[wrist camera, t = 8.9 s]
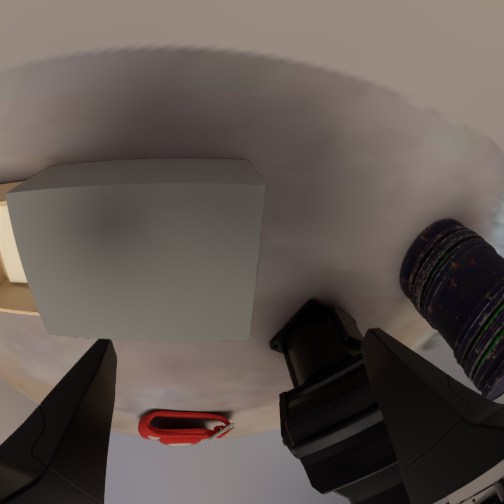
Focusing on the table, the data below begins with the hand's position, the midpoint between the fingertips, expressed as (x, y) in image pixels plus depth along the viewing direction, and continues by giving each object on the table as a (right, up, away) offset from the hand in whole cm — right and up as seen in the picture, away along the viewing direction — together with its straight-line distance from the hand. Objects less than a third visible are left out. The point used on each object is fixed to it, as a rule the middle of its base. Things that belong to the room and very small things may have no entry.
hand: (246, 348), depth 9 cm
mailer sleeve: (-7, +5, +10) cm, 14 cm away
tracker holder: (-8, -19, +25) cm, 33 cm away
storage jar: (+19, +2, +17) cm, 26 cm away
